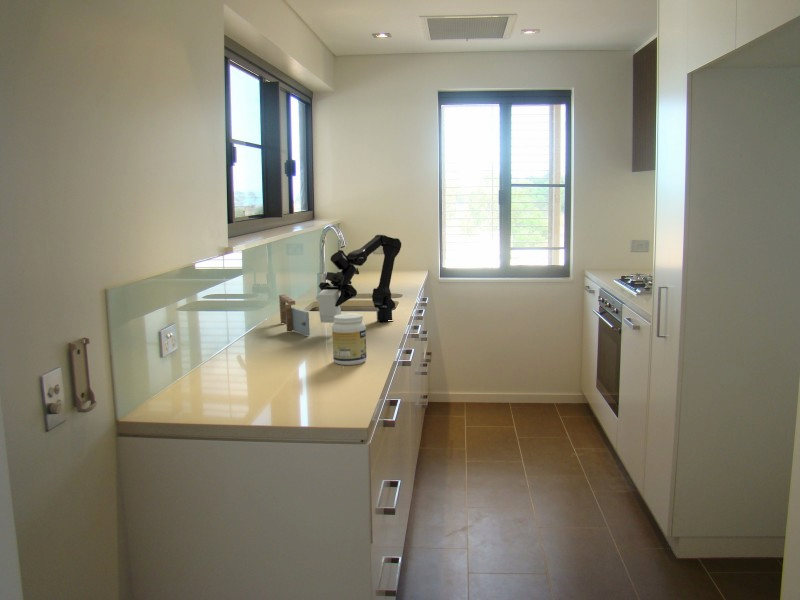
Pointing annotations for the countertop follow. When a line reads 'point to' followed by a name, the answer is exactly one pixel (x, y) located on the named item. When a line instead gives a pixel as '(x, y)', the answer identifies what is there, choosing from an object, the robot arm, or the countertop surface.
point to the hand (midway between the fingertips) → (328, 305)
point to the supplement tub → (349, 339)
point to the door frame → (286, 311)
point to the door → (300, 321)
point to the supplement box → (328, 305)
